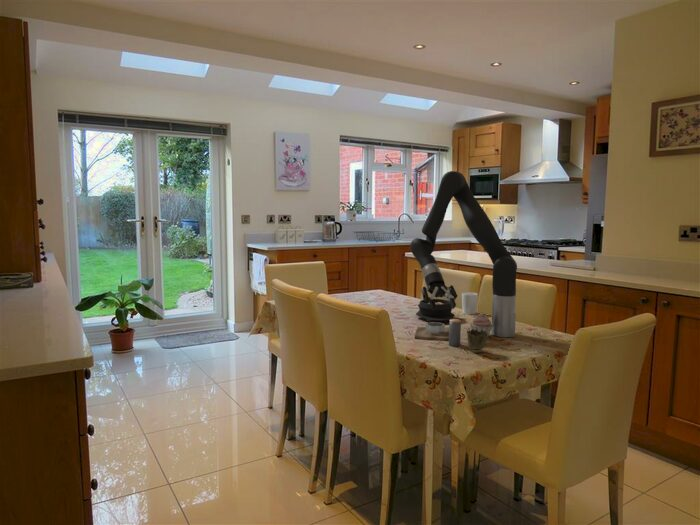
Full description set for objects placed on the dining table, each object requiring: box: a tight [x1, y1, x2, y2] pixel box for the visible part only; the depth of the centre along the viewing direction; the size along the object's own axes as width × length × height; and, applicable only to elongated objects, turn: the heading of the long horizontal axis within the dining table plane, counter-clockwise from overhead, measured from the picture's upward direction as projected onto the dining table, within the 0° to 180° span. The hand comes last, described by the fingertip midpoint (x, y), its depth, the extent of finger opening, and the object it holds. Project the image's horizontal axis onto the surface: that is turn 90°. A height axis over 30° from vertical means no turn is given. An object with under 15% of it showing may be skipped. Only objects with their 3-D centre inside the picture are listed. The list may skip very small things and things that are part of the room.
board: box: [414, 326, 449, 342], centre depth 204 cm, size 16×16×1 cm
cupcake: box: [469, 312, 493, 338], centre depth 202 cm, size 9×9×10 cm
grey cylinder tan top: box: [448, 318, 462, 348], centre depth 189 cm, size 4×4×10 cm
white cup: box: [461, 291, 479, 315], centre depth 246 cm, size 8×8×10 cm
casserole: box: [415, 298, 456, 322], centre depth 234 cm, size 25×19×8 cm
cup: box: [466, 328, 488, 354], centre depth 179 cm, size 8×7×8 cm
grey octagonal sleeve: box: [425, 321, 446, 335], centre depth 204 cm, size 8×8×4 cm
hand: (444, 308), depth 196 cm, fingers open, 8 cm apart
